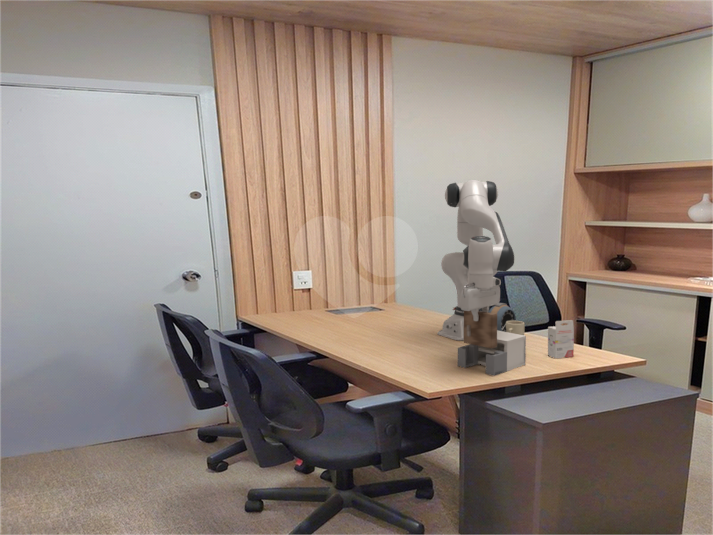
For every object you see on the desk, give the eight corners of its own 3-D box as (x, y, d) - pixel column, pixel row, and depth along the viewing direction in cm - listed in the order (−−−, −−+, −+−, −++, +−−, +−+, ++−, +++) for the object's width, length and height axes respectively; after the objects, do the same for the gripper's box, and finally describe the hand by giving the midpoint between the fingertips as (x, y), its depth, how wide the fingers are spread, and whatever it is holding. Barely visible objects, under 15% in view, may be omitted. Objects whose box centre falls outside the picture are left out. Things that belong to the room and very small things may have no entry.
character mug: (512, 349, 211) (512, 318, 210) (528, 352, 206) (529, 321, 205) (500, 355, 203) (500, 323, 202) (517, 358, 198) (517, 325, 197)
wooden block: (462, 343, 187) (462, 310, 186) (468, 341, 190) (468, 309, 189) (490, 349, 178) (491, 315, 177) (496, 346, 181) (497, 313, 180)
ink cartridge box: (565, 353, 204) (566, 317, 203) (573, 357, 199) (574, 319, 198) (546, 355, 202) (547, 319, 200) (554, 358, 197) (555, 321, 196)
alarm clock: (500, 348, 214) (501, 306, 213) (481, 343, 222) (481, 303, 220) (519, 342, 223) (520, 302, 222) (500, 338, 231) (501, 299, 229)
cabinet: (457, 366, 190) (457, 337, 189) (489, 356, 202) (489, 328, 201) (494, 375, 177) (494, 344, 176) (525, 364, 190) (525, 335, 189)
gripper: (471, 285, 173) (470, 325, 174) (503, 279, 187) (502, 317, 188) (455, 283, 177) (455, 323, 179) (488, 278, 191) (488, 314, 193)
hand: (480, 319), depth 183 cm, fingers closed on wooden block, 3 cm apart
